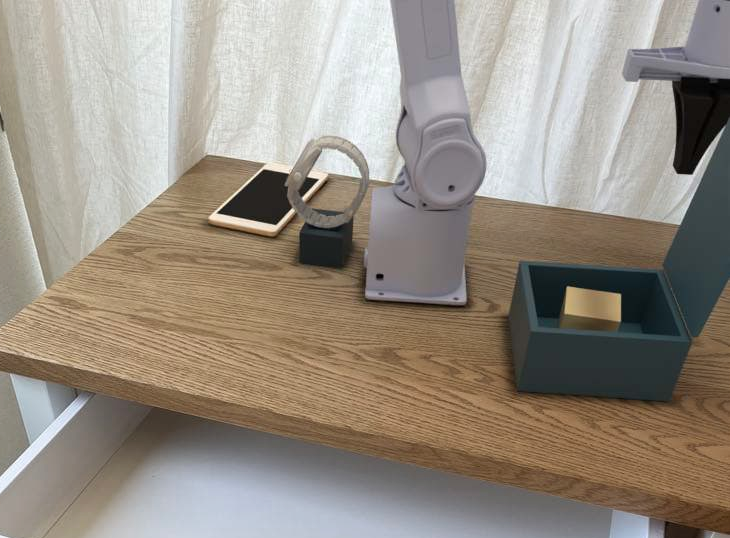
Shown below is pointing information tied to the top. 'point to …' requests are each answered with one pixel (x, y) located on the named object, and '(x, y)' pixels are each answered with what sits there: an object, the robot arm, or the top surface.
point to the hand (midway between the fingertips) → (682, 170)
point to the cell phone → (264, 201)
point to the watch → (324, 227)
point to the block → (590, 310)
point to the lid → (703, 243)
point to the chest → (597, 334)
